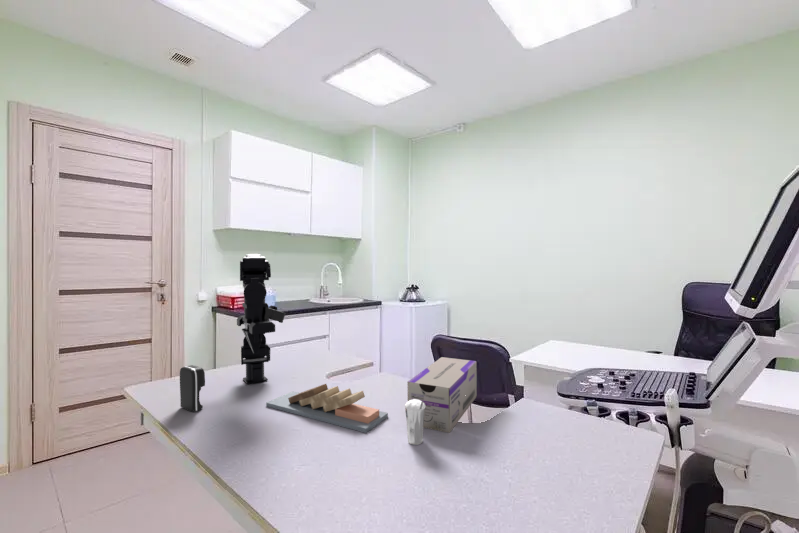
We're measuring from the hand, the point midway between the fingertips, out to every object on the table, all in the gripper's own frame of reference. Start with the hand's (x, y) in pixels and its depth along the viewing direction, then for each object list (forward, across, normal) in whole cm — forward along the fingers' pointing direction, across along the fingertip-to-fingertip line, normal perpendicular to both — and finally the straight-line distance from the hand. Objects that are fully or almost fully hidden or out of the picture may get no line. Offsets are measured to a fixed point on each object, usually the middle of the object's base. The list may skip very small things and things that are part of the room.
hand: (255, 353), depth 111 cm
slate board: (+13, -21, -12) cm, 28 cm away
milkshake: (+13, -49, -21) cm, 55 cm away
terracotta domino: (+11, -26, -14) cm, 32 cm away
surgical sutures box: (+14, -39, -39) cm, 57 cm away
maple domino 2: (+11, -19, -11) cm, 25 cm away
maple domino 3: (+11, -23, -13) cm, 29 cm away
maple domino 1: (+11, -16, -9) cm, 21 cm away
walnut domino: (+11, -12, -8) cm, 18 cm away
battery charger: (+13, +2, +16) cm, 21 cm away
